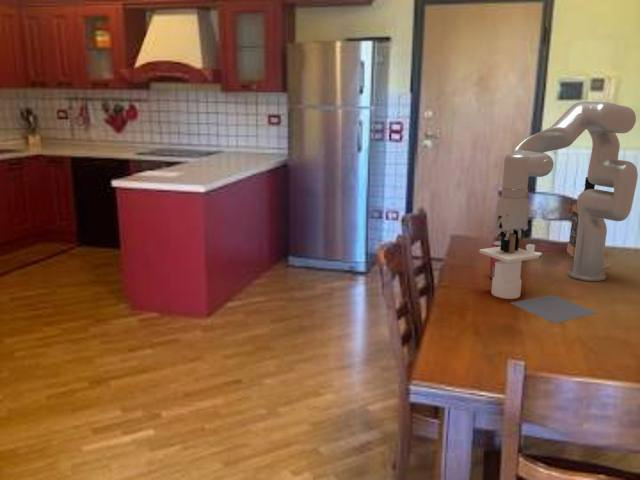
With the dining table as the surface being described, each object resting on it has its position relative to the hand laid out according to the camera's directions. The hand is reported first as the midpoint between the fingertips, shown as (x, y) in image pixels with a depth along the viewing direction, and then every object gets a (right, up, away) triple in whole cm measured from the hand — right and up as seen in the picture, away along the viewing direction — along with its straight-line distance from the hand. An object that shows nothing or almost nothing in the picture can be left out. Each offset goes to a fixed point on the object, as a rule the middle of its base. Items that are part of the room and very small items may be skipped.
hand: (509, 249), depth 190 cm
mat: (+11, -19, -8) cm, 23 cm away
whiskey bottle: (+47, -3, +53) cm, 71 cm away
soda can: (+4, -11, +23) cm, 26 cm away
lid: (0, -2, 0) cm, 2 cm away
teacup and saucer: (+24, -4, +52) cm, 58 cm away
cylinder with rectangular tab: (0, -16, +4) cm, 16 cm away
